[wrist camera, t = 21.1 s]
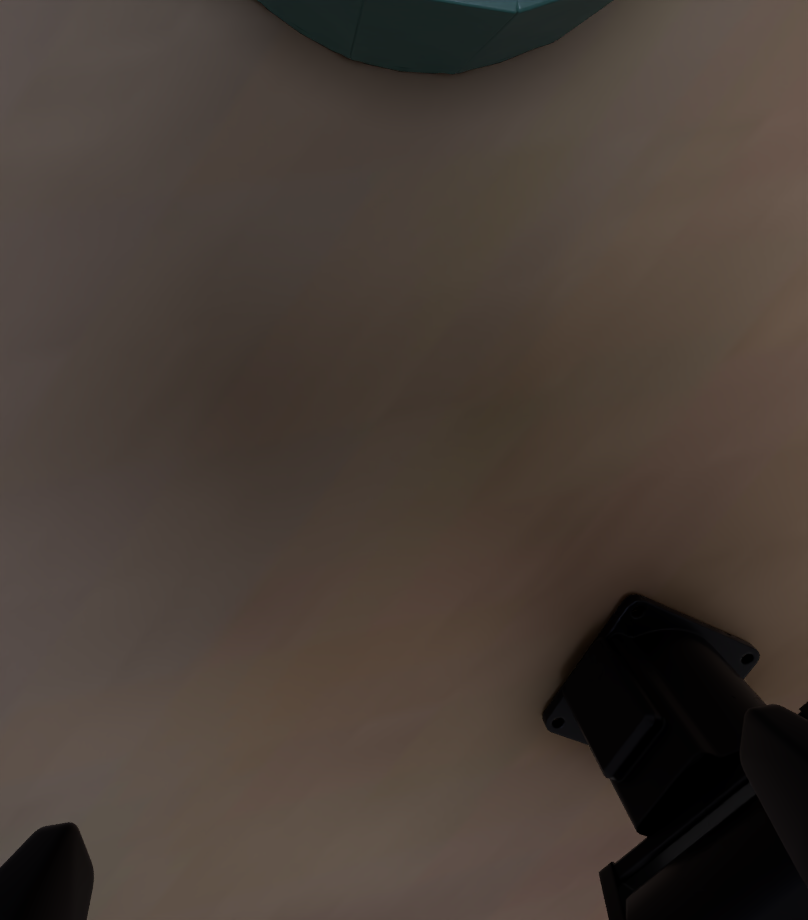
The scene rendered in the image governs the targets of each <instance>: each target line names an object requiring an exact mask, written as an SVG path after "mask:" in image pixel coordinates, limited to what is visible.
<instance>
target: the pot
mask: <svg viewBox="0 0 808 920" xmlns="http://www.w3.org/2000/svg"><path fill="white" fill-rule="evenodd" d="M257 1H259V2H260V3H262V4H263V5H264V6H265V7H266V8H267V9H268V10H269V11H271V12H272V13H273V14H275V15H276V16H278V17H279V18H280V19H282V20H283V21H284V22H286V23H287V24H289V25H290V26H291V27H293V28H294V29H295V30H297V31H298V32H300V33H301V34H303V35H305V36H307V37H308V38H310V39H312V40H314V41H316V42H318V43H319V44H321V45H323V46H325V47H327V48H329V49H330V50H332V51H334V52H337V53H340V54H342V55H343V56H345V57H347V58H350V59H351V60H355V61H361V62H364V63H366V64H370V65H375V66H379V67H384V68H388V69H393V70H398V71H405V72H421V73H447V74H455V73H461V72H464V71H468V70H472V69H476V68H480V67H484V66H488V65H492V64H496V63H500V62H503V61H505V60H507V59H510V58H512V57H515V56H517V55H520V54H522V53H524V52H527V51H529V50H532V49H535V48H538V47H541V46H544V45H547V44H550V43H553V42H554V41H556V40H558V39H560V38H561V37H562V36H564V35H565V34H567V33H568V32H569V31H571V30H572V29H574V28H575V27H576V26H578V25H579V24H581V23H582V22H584V21H585V20H586V19H588V18H589V17H591V16H592V15H593V14H595V13H596V12H598V11H599V10H600V9H602V8H603V7H605V6H606V5H607V4H609V3H610V2H612V1H613V0H257Z"/></svg>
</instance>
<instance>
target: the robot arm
mask: <svg viewBox="0 0 808 920" xmlns="http://www.w3.org/2000/svg"><path fill="white" fill-rule="evenodd" d="M637 606H639V608H638V609H637V610H636V611H633V612H632V610H633V609H634V608H635V607H637ZM744 655H745V656H744ZM743 656H744V657H743ZM759 656H760V655H759V652H758V651H757V650H756V649H755V648H754V647H753V646H752V645H751V644H750V643H748V642H746V641H744V640H742V639H739V638H737V637H735V636H732V635H730V634H728V633H726V632H723V631H721V630H719V629H717V628H714V627H712V626H710V625H707V624H705V623H703V622H701V621H698V620H696V619H694V618H692V617H689V616H687V615H685V614H682V613H680V612H678V611H676V610H673V609H671V608H669V607H667V606H664V605H662V604H660V603H657V602H655V601H653V600H651V599H648V598H646V597H644V596H641V595H638V594H634V595H630V596H628V597H626V598H625V599H624V600H623V601H622V603H621V604H620V606H619V607H618V608H617V610H616V611H615V613H614V614H613V615H612V617H611V618H610V620H609V621H608V622H607V624H606V625H605V627H604V628H603V630H602V631H601V632H600V634H599V635H598V637H597V638H596V639H595V641H594V642H593V644H592V645H591V646H590V648H589V649H588V651H587V652H586V654H585V655H584V656H583V658H582V659H581V661H580V662H579V663H578V665H577V666H576V668H575V669H574V670H573V672H572V673H571V675H570V676H569V678H568V679H567V680H566V682H565V683H564V685H563V686H562V687H561V689H560V690H559V692H558V693H557V694H556V696H555V697H554V699H553V700H552V701H551V703H550V704H549V706H548V707H547V709H546V710H545V711H544V713H543V721H544V723H545V726H546V728H547V729H548V730H549V731H550V732H552V733H555V734H558V735H561V736H564V737H567V738H570V739H573V740H575V741H578V742H581V743H584V744H587V745H589V747H590V749H591V751H592V753H593V755H594V757H595V759H596V761H597V763H598V765H599V767H600V769H601V771H602V772H603V774H604V776H605V777H606V778H609V779H610V781H611V783H612V785H613V787H614V789H615V790H616V792H617V794H618V796H619V798H620V800H621V802H622V804H623V806H624V808H625V810H626V812H627V814H628V816H629V817H630V819H631V821H632V823H633V825H634V827H635V829H636V831H637V832H638V833H639V834H641V835H644V836H647V838H645V839H644V840H643V841H642V842H641V843H639V844H638V845H637V846H636V847H634V848H633V849H632V850H631V851H630V852H628V853H627V854H626V855H625V856H623V857H622V858H621V859H620V860H618V861H617V862H616V863H614V862H611V863H610V864H608V865H607V866H606V867H605V868H603V869H602V870H601V871H600V872H599V876H600V881H601V886H602V890H603V895H604V899H605V904H606V908H607V913H608V918H609V920H808V702H807V703H806V704H804V705H803V706H802V707H801V708H799V710H800V711H801V712H800V713H799V714H796V713H794V712H792V711H790V710H788V709H786V708H784V707H782V706H780V705H776V704H770V705H766V704H765V703H764V702H763V701H762V699H761V698H760V697H759V696H758V695H757V694H756V693H755V692H754V691H753V690H752V689H751V687H750V686H749V685H748V684H747V683H746V682H745V681H744V680H743V679H744V678H745V677H746V676H747V674H748V673H749V672H750V671H751V670H752V668H753V667H754V666H755V665H756V663H757V662H758V660H759ZM556 718H558V719H557V720H554V719H556ZM93 882H94V871H93V865H92V862H91V859H90V857H89V854H88V852H87V849H86V847H85V844H84V841H83V839H82V836H81V834H80V831H79V829H78V827H77V826H76V825H75V824H74V823H69V822H68V823H62V824H56V825H50V826H45V827H42V828H40V829H38V830H37V831H35V832H34V833H33V834H32V835H31V836H30V837H29V838H28V839H27V840H26V841H25V842H24V843H23V845H22V846H21V847H20V848H19V849H18V850H17V851H16V852H15V853H14V854H13V855H12V856H11V857H10V858H9V859H8V860H7V861H6V862H5V863H4V864H3V865H2V866H1V867H0V920H87V915H88V910H89V905H90V900H91V895H92V889H93Z"/></svg>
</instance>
